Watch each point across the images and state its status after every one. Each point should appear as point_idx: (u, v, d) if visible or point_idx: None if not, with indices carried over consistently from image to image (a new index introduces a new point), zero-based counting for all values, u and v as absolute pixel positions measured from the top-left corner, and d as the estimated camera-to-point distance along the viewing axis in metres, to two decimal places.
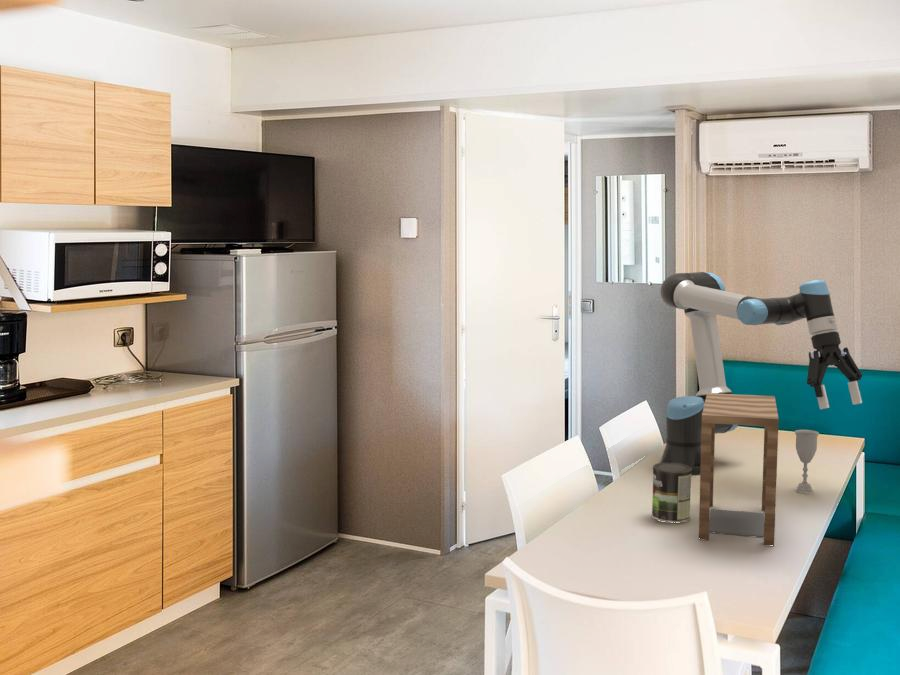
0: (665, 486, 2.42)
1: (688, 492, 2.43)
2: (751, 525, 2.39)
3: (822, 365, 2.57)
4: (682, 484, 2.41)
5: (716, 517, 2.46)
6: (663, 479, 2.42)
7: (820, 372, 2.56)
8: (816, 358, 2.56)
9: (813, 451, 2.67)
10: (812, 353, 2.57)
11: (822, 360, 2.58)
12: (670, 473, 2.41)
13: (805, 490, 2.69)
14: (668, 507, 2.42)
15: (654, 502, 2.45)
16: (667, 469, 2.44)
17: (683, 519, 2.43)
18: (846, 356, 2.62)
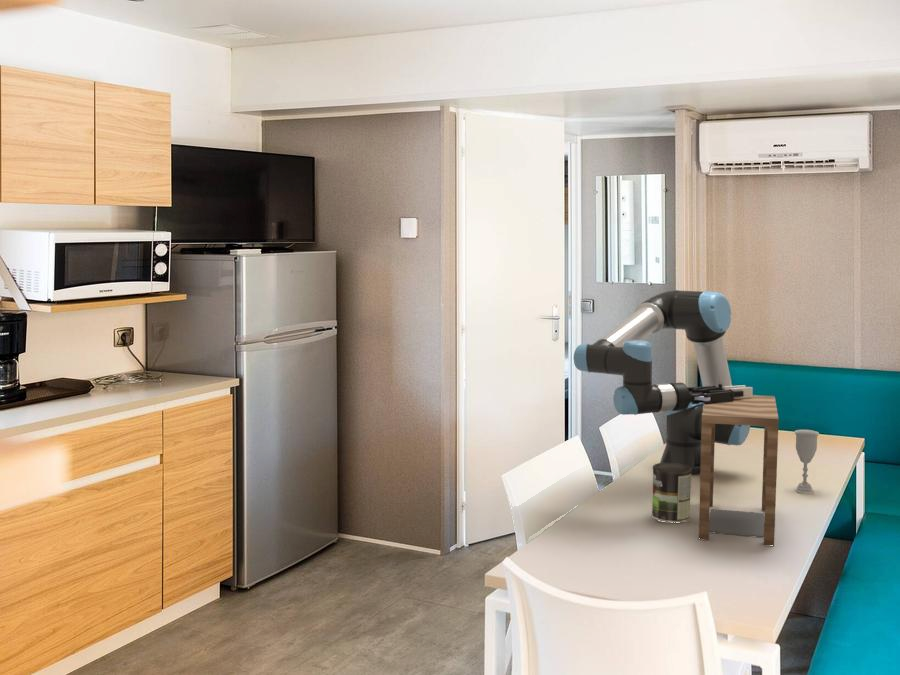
0: (665, 486, 2.42)
1: (688, 492, 2.43)
2: (751, 525, 2.39)
3: None
4: (682, 484, 2.41)
5: (716, 517, 2.46)
6: (663, 479, 2.42)
7: None
8: None
9: (813, 451, 2.67)
10: None
11: None
12: (670, 473, 2.41)
13: (805, 490, 2.69)
14: (668, 507, 2.42)
15: (654, 502, 2.45)
16: (667, 469, 2.44)
17: (683, 519, 2.43)
18: None
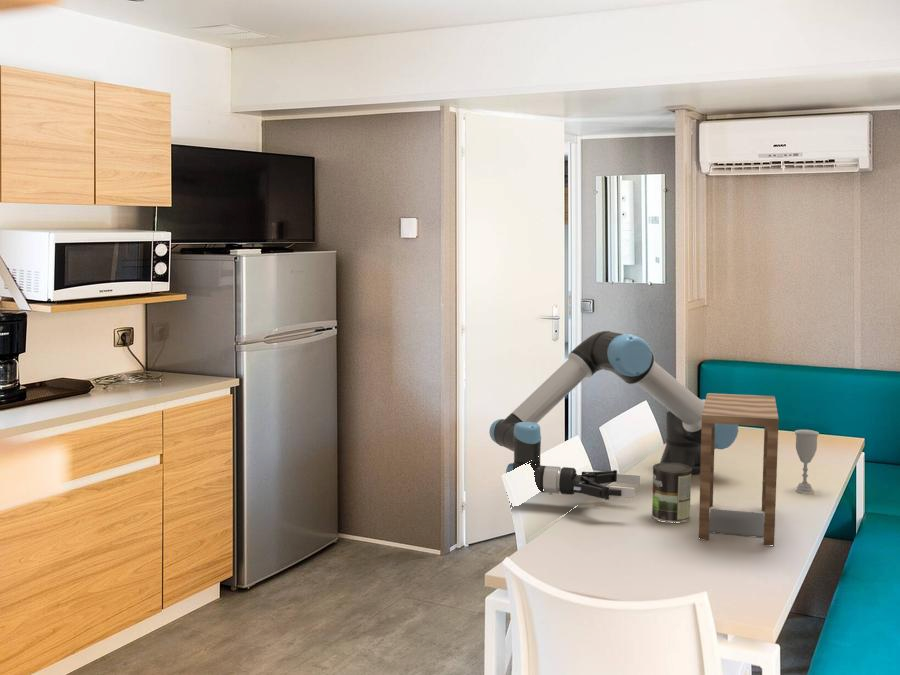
0: (665, 486, 2.42)
1: (688, 492, 2.43)
2: (751, 525, 2.39)
3: None
4: (682, 484, 2.41)
5: (716, 517, 2.46)
6: (663, 479, 2.42)
7: None
8: None
9: (813, 451, 2.67)
10: None
11: None
12: (670, 473, 2.41)
13: (805, 490, 2.69)
14: (668, 507, 2.42)
15: (654, 502, 2.45)
16: (667, 469, 2.44)
17: (683, 519, 2.43)
18: None
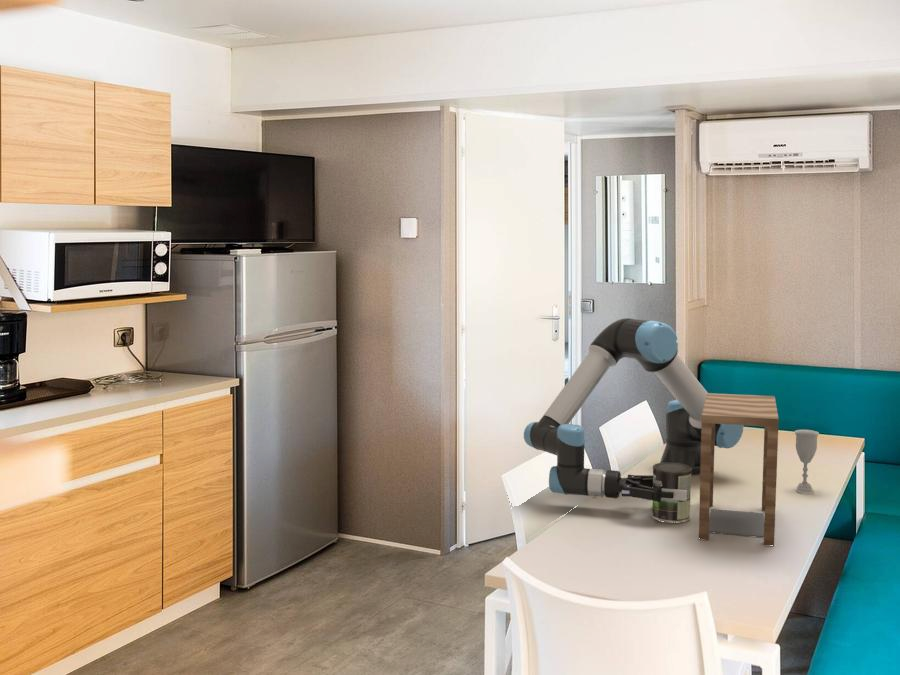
0: (665, 486, 2.42)
1: (688, 492, 2.43)
2: (751, 525, 2.39)
3: None
4: (682, 484, 2.41)
5: (716, 517, 2.46)
6: (663, 479, 2.42)
7: None
8: None
9: (813, 451, 2.67)
10: None
11: None
12: (670, 473, 2.41)
13: (805, 490, 2.69)
14: (668, 506, 2.42)
15: (654, 502, 2.45)
16: (667, 469, 2.44)
17: (683, 519, 2.43)
18: None
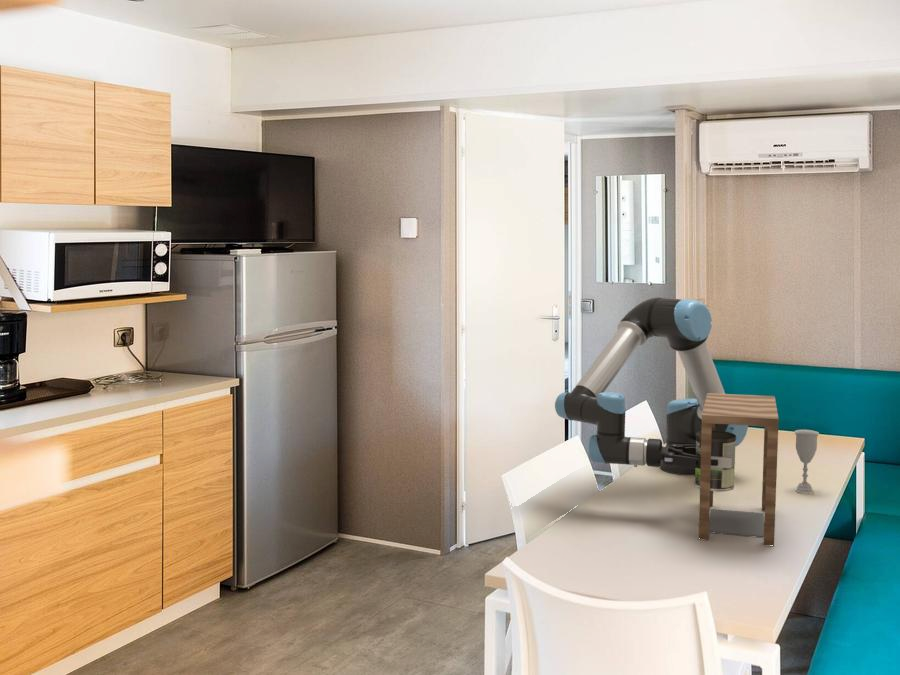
0: None
1: (732, 460, 2.38)
2: (751, 525, 2.39)
3: None
4: (727, 452, 2.36)
5: (716, 517, 2.46)
6: None
7: None
8: None
9: (813, 451, 2.67)
10: None
11: None
12: (714, 440, 2.35)
13: (805, 490, 2.69)
14: (712, 474, 2.37)
15: (697, 470, 2.40)
16: None
17: (727, 487, 2.37)
18: None
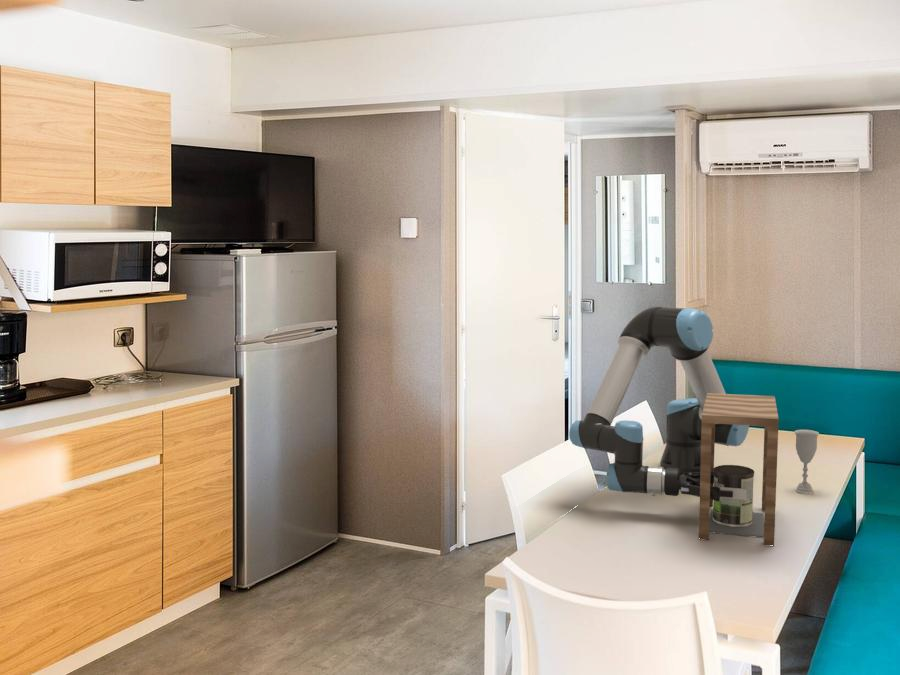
0: None
1: (751, 495, 2.38)
2: (751, 525, 2.39)
3: None
4: (745, 488, 2.36)
5: None
6: (725, 482, 2.37)
7: None
8: None
9: (813, 451, 2.67)
10: None
11: None
12: (733, 476, 2.36)
13: (805, 490, 2.69)
14: (731, 510, 2.37)
15: (715, 505, 2.41)
16: (729, 472, 2.39)
17: (746, 523, 2.38)
18: None
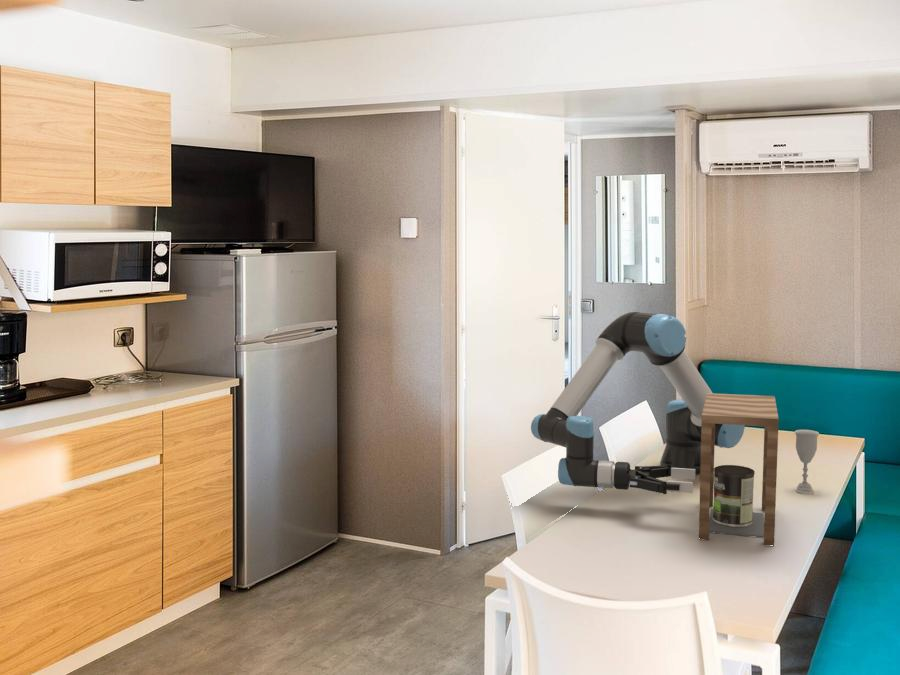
0: (727, 489, 2.37)
1: (751, 495, 2.38)
2: (751, 525, 2.39)
3: None
4: (745, 487, 2.36)
5: None
6: (725, 482, 2.37)
7: None
8: None
9: (813, 451, 2.67)
10: None
11: None
12: (733, 476, 2.36)
13: (805, 490, 2.69)
14: (731, 510, 2.37)
15: (716, 505, 2.41)
16: (729, 472, 2.39)
17: (746, 523, 2.38)
18: None
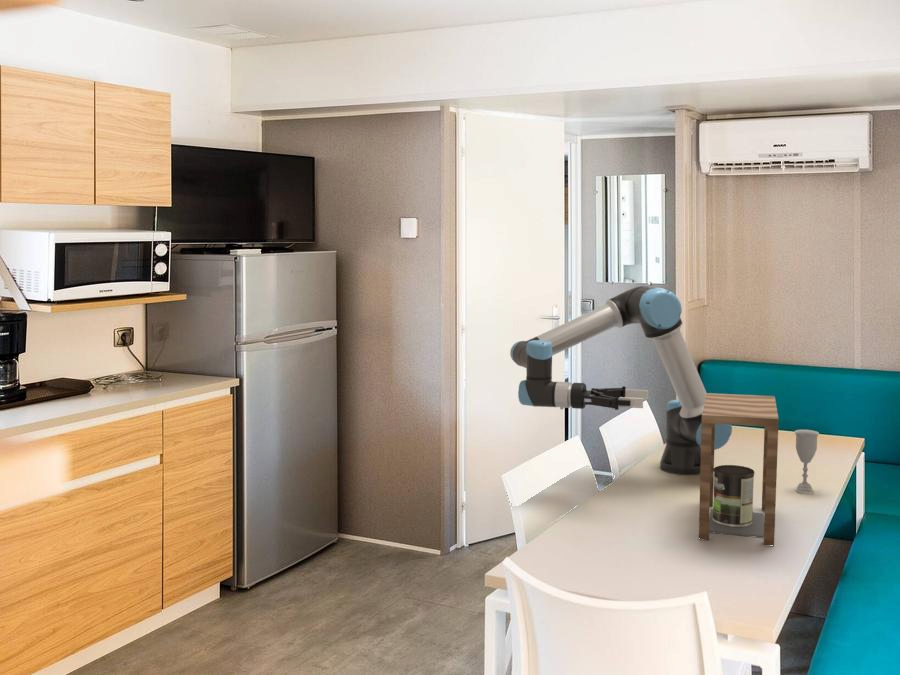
0: (727, 489, 2.37)
1: (751, 495, 2.38)
2: (751, 525, 2.39)
3: None
4: (745, 487, 2.36)
5: None
6: (725, 482, 2.37)
7: None
8: None
9: (813, 451, 2.67)
10: None
11: None
12: (733, 476, 2.36)
13: (805, 490, 2.69)
14: (731, 510, 2.37)
15: (715, 505, 2.41)
16: (729, 472, 2.39)
17: (746, 523, 2.38)
18: None
